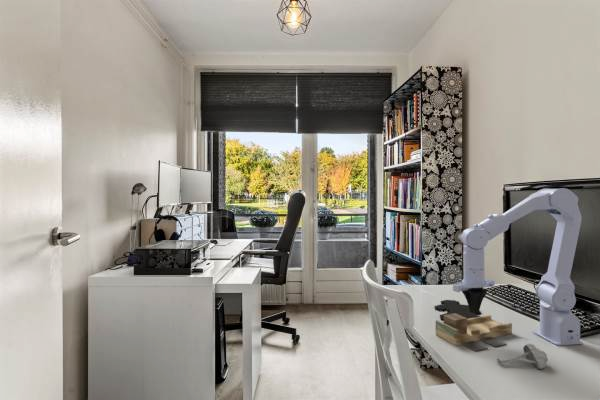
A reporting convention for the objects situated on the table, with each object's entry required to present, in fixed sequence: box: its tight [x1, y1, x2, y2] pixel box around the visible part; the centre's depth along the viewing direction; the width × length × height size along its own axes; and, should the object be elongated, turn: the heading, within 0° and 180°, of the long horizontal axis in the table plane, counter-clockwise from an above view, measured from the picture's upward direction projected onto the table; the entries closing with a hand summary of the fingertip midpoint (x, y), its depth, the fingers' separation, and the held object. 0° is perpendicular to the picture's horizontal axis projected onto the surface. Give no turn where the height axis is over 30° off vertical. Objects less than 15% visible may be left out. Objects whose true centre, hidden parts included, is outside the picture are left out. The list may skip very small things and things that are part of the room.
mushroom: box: [496, 343, 549, 370], centre depth 88 cm, size 7×5×12 cm
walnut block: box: [443, 313, 467, 334], centre depth 104 cm, size 4×4×4 cm
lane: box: [435, 314, 513, 353], centre depth 104 cm, size 22×13×4 cm, turn 110°
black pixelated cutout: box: [434, 299, 482, 321], centre depth 122 cm, size 16×1×30 cm
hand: (474, 312), depth 106 cm, fingers closed
